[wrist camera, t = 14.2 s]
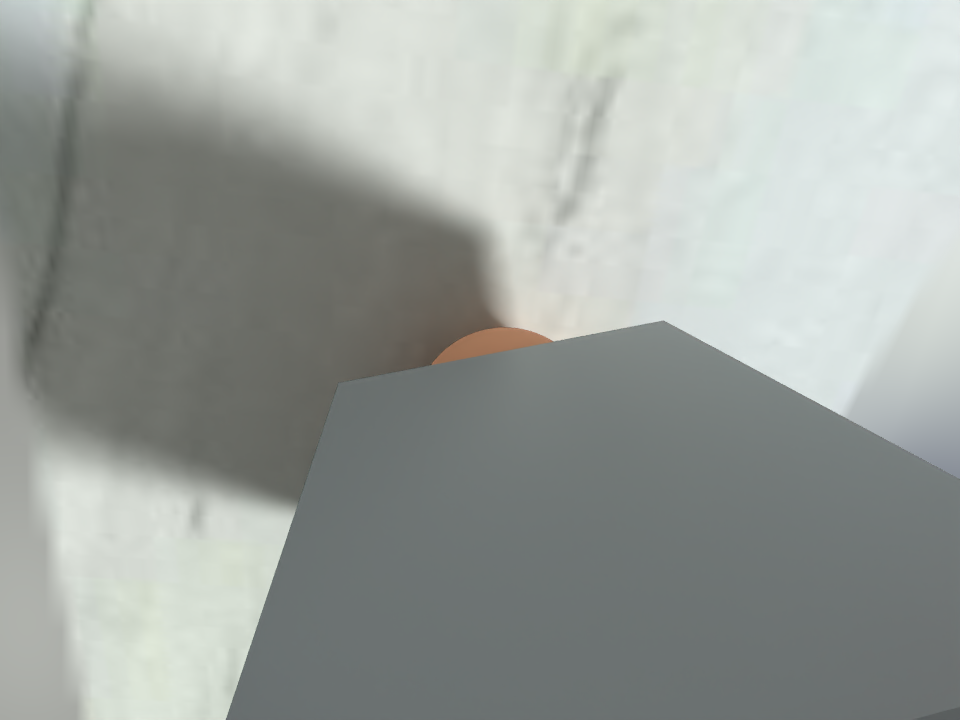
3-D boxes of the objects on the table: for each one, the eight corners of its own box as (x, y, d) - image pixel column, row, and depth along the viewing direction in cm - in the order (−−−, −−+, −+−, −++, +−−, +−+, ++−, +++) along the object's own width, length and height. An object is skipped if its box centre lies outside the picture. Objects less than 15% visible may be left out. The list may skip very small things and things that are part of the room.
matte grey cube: (669, 572, 15) (1010, 1078, 6) (407, 633, 14) (409, 1278, 6) (663, 320, 12) (1242, 630, 4) (338, 383, 11) (158, 921, 3)
